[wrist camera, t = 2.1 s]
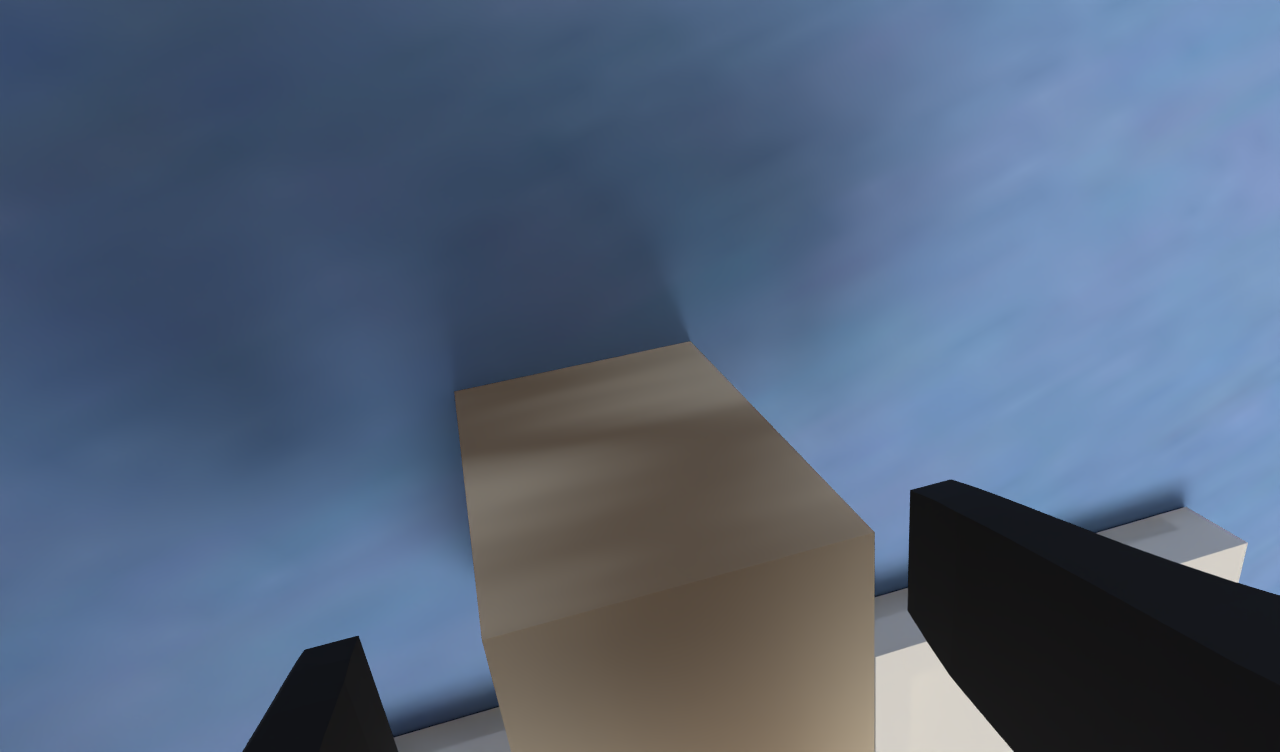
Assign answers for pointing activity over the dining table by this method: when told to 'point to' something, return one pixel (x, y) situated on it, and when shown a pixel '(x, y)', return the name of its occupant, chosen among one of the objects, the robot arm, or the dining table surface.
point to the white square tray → (460, 735)
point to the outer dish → (931, 700)
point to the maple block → (662, 566)
